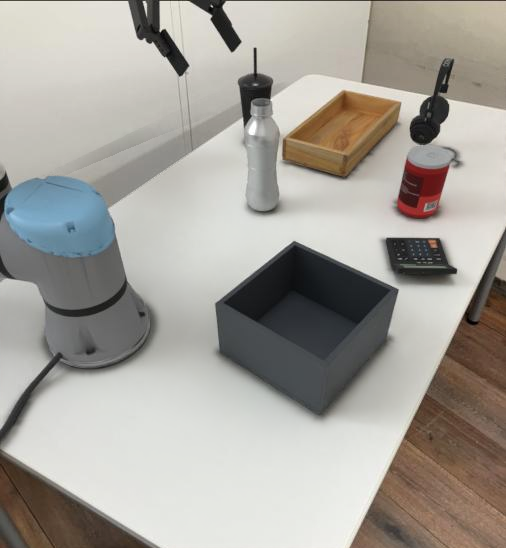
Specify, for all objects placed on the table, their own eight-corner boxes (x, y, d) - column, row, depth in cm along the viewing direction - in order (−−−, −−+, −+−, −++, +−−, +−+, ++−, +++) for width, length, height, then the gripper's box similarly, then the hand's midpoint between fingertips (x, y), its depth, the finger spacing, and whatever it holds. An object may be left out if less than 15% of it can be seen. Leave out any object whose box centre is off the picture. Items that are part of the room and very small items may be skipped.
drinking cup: (269, 151, 116) (270, 55, 101) (236, 148, 117) (232, 53, 102) (275, 135, 121) (276, 42, 106) (243, 133, 122) (240, 40, 107)
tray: (340, 110, 130) (343, 87, 125) (397, 124, 124) (402, 100, 120) (281, 163, 112) (282, 138, 108) (344, 181, 106) (348, 155, 102)
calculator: (438, 241, 92) (442, 227, 90) (452, 284, 84) (458, 270, 82) (385, 241, 92) (388, 227, 90) (395, 284, 84) (398, 269, 82)
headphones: (451, 182, 105) (481, 80, 91) (397, 171, 109) (418, 71, 94) (464, 150, 115) (494, 53, 100) (414, 140, 118) (436, 45, 103)
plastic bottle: (259, 219, 97) (258, 114, 83) (239, 204, 101) (234, 101, 87) (285, 208, 100) (289, 104, 85) (265, 193, 104) (265, 91, 89)
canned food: (440, 201, 101) (455, 148, 92) (432, 223, 96) (447, 169, 88) (401, 193, 103) (413, 140, 95) (391, 214, 98) (403, 160, 90)
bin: (319, 415, 67) (325, 367, 60) (219, 352, 75) (214, 303, 67) (386, 338, 76) (399, 289, 69) (291, 289, 84) (294, 240, 77)
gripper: (177, -56, 92) (245, 51, 97) (66, -27, 79) (150, 95, 83) (196, -92, 86) (267, 24, 91) (79, -67, 73) (169, 68, 77)
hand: (211, 59), depth 87 cm, fingers open, 13 cm apart
